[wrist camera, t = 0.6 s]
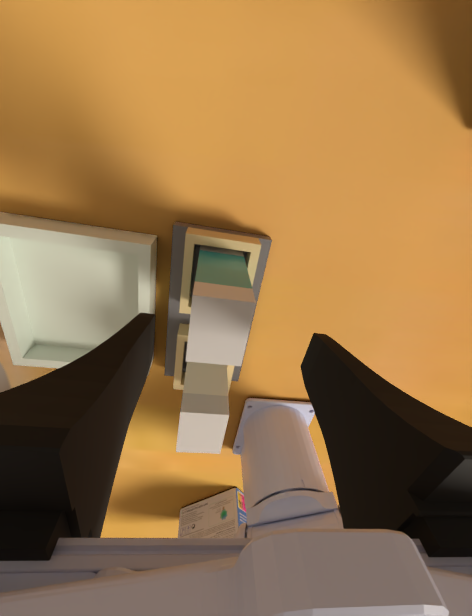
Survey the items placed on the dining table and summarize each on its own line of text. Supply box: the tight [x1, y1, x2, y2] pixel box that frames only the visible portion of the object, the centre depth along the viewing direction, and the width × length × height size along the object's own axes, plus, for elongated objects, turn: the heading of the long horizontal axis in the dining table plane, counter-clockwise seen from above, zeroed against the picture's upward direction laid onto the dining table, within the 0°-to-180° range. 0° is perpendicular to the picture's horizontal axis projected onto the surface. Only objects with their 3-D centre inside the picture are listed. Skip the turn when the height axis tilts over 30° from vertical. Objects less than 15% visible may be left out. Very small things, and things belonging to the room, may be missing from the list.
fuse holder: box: [165, 222, 272, 393], centre depth 22 cm, size 14×7×3 cm, turn 170°
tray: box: [0, 212, 157, 375], centre depth 21 cm, size 12×11×2 cm
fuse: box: [176, 362, 229, 454], centre depth 21 cm, size 4×3×8 cm
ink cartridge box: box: [178, 488, 247, 538], centre depth 34 cm, size 10×6×14 cm, turn 121°
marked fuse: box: [186, 245, 256, 366], centre depth 17 cm, size 4×3×8 cm
